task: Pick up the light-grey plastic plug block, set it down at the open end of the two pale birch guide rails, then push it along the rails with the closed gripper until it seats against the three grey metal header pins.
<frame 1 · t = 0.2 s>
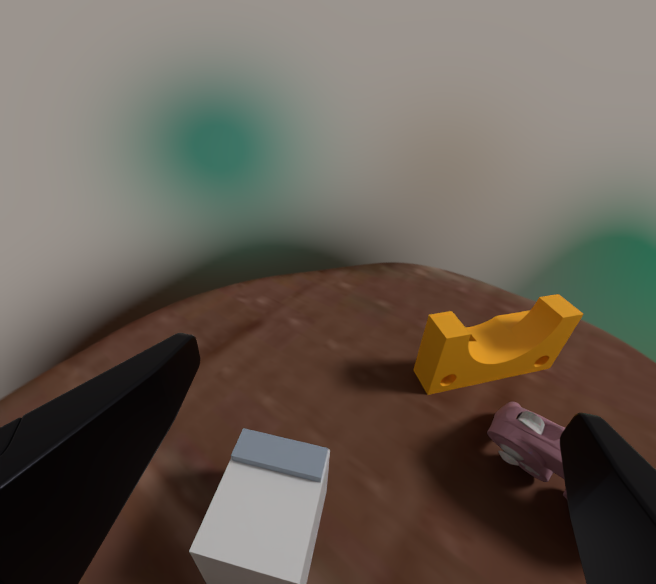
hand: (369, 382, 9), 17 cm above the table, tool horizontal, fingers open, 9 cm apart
video game controller: (553, 484, 24), on the table
pipe clamp: (475, 364, 32), on the table
plug block: (272, 534, 21), on the table
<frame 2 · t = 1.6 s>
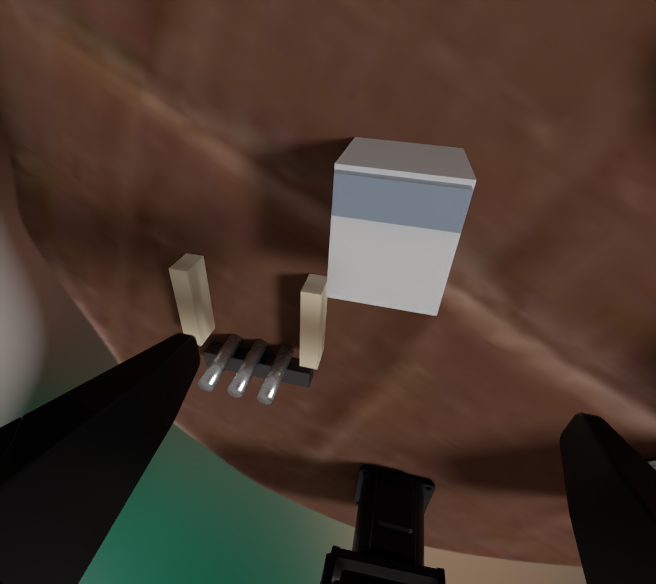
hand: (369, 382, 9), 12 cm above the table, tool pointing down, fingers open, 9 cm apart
guide rails: (258, 303, 24), on the table
plug block: (397, 203, 18), on the table
pin header: (260, 344, 26), on the table
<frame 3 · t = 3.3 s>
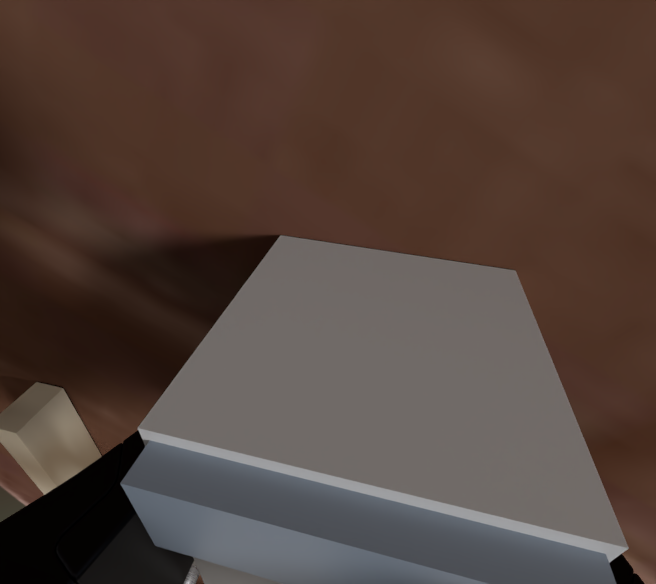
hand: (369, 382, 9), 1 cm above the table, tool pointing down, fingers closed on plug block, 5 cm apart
guide rails: (161, 451, 15), on the table
plug block: (374, 352, 9), on the table, touching gripper
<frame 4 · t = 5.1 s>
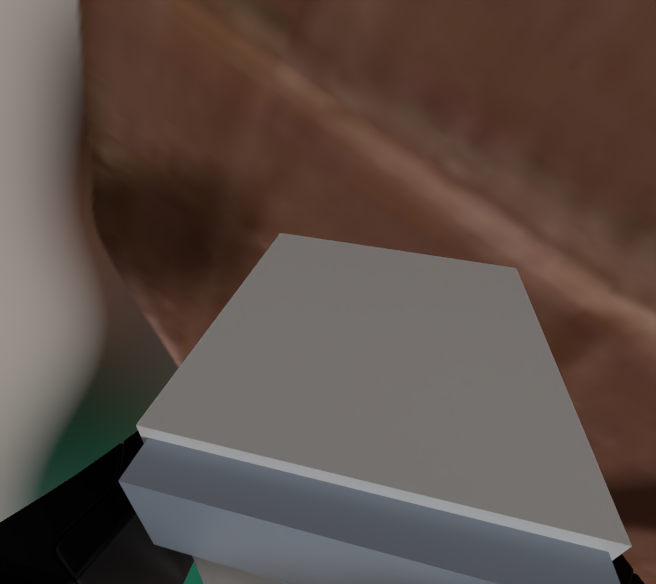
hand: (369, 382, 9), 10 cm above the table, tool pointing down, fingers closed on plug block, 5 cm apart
plug block: (374, 351, 9), point 9 cm above the table, touching gripper
when the fingers open (2 cm above the table, at t = 6.9 s): plug block drops 1 cm, on the table.
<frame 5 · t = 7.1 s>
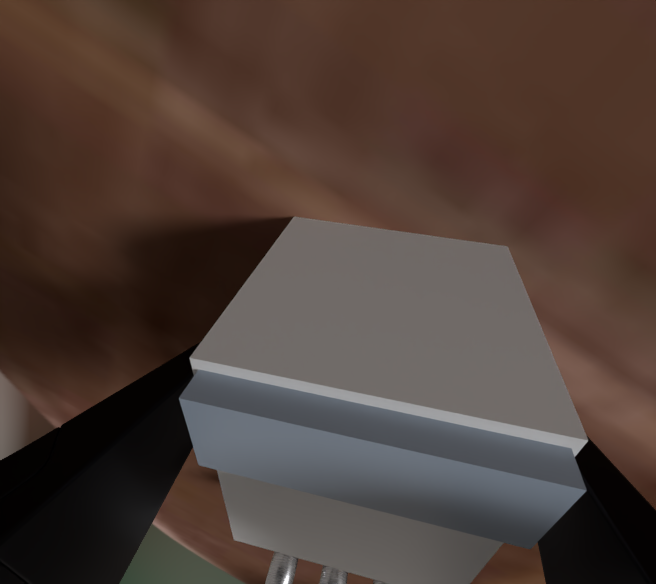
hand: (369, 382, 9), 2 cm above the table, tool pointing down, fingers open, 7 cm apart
plug block: (379, 325, 10), on the table
pin header: (346, 500, 16), on the table
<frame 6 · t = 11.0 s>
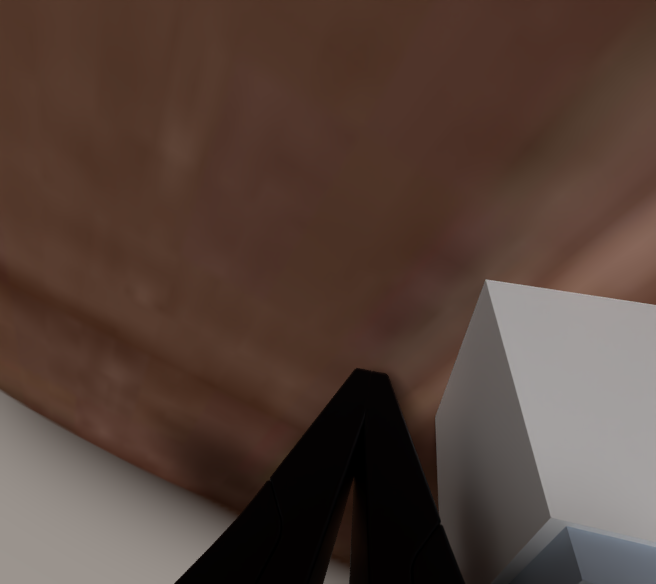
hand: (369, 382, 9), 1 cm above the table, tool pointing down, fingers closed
plug block: (579, 380, 9), on the table, touching gripper
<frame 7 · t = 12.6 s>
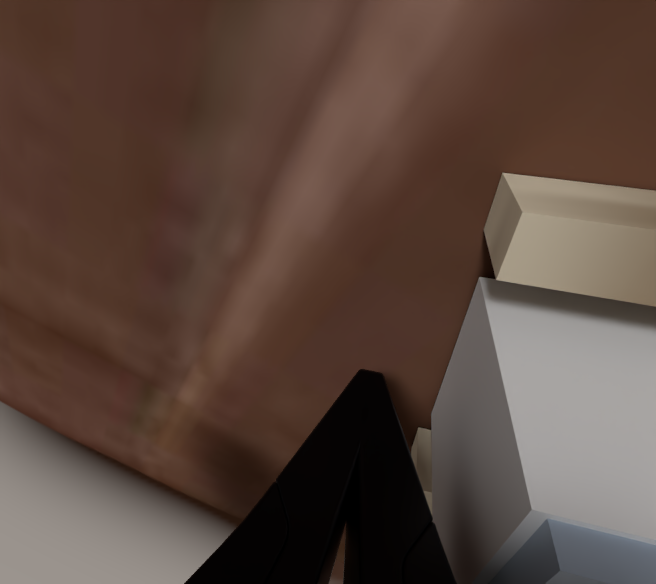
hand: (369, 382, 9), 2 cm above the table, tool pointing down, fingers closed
guide rails: (565, 374, 9), on the table
plug block: (573, 379, 9), on the table, touching gripper, pin header
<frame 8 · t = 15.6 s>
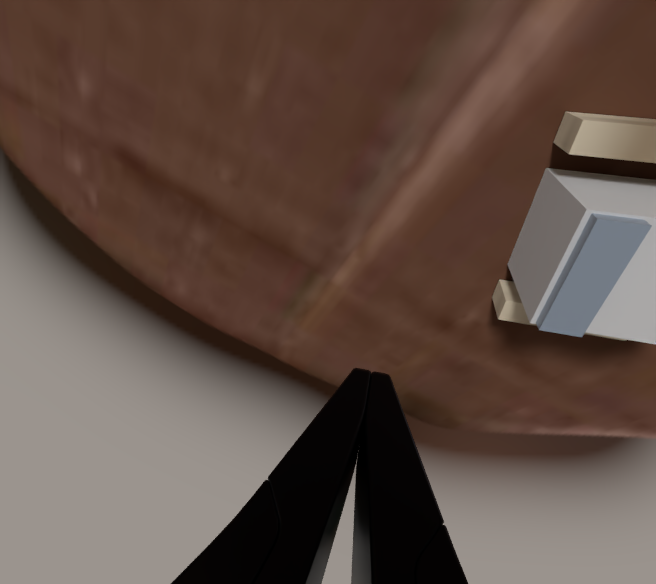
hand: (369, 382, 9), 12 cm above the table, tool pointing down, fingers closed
guide rails: (590, 227, 17), on the table
plug block: (591, 228, 17), on the table
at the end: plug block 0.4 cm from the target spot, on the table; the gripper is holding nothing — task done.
